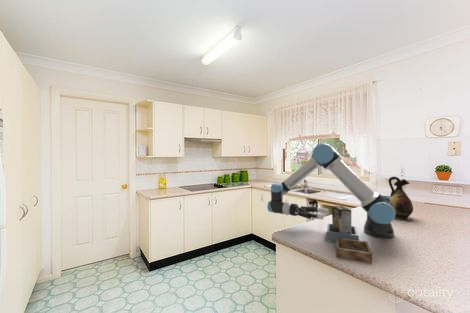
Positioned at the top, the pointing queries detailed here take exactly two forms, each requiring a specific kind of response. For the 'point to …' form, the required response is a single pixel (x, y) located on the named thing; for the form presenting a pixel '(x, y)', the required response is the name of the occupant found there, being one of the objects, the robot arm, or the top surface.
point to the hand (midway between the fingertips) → (326, 214)
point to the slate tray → (341, 234)
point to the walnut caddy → (353, 253)
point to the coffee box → (341, 219)
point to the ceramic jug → (400, 199)
